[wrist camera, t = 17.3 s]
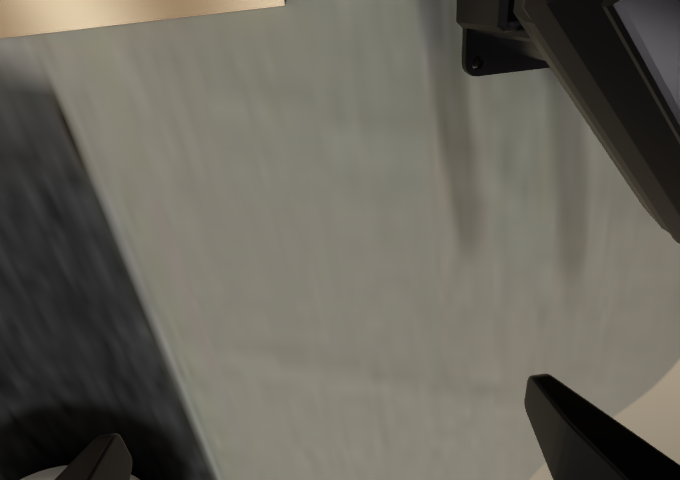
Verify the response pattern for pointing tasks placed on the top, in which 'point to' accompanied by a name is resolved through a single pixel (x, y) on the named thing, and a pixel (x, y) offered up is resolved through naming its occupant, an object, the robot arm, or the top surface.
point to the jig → (106, 12)
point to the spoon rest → (53, 474)
